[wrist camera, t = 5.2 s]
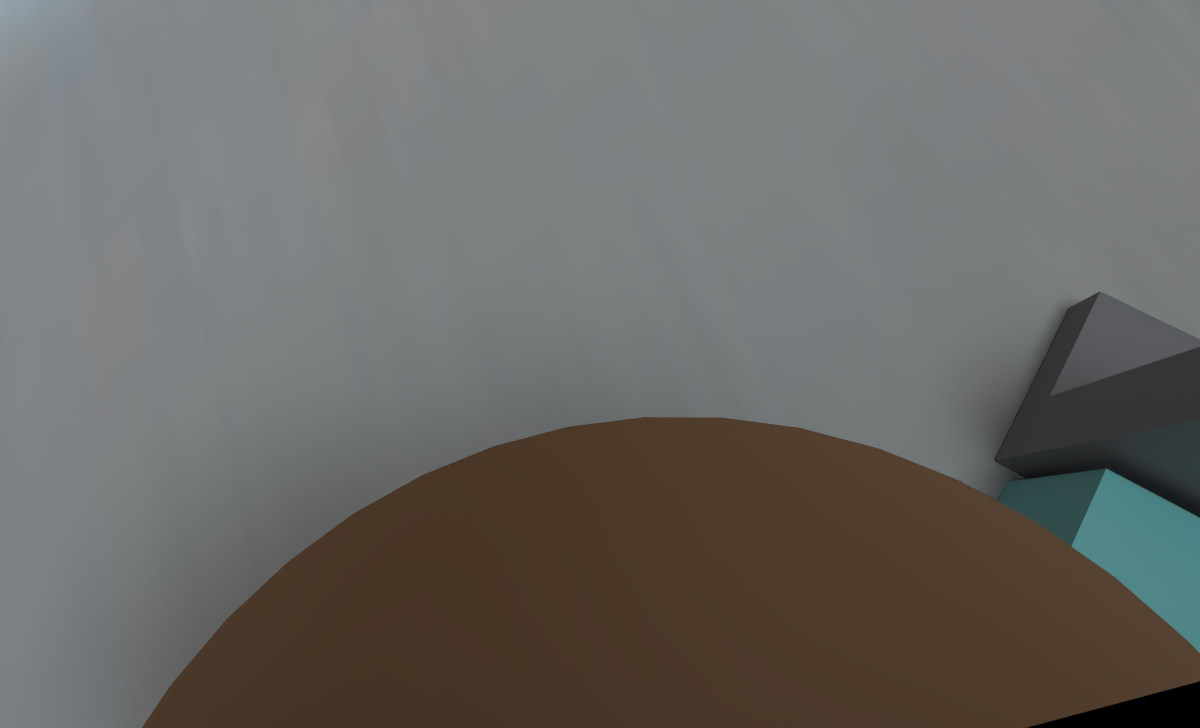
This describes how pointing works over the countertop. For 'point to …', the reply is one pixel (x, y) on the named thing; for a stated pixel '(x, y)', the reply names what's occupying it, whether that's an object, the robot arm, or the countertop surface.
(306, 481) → the countertop surface
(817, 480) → the dowel
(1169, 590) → the socket block
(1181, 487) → the backstop wall
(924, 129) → the countertop surface
